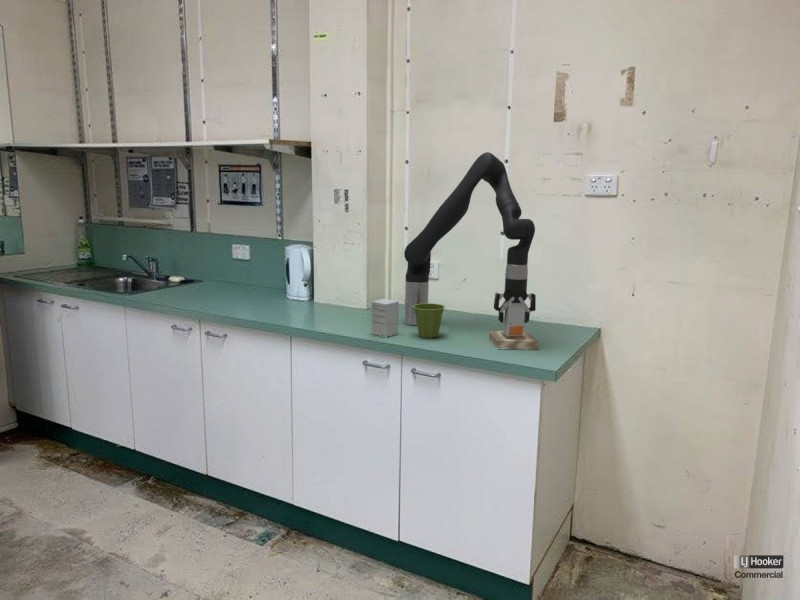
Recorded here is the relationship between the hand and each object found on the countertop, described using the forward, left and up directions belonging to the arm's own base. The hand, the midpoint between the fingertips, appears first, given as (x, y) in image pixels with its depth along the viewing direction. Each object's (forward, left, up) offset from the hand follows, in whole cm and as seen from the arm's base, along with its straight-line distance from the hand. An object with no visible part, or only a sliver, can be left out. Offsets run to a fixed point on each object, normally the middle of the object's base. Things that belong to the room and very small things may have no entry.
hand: (513, 322), depth 204 cm
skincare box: (0, 0, -5) cm, 5 cm away
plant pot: (-29, +11, -8) cm, 32 cm away
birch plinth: (0, 0, -8) cm, 8 cm away
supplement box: (-45, +13, -8) cm, 48 cm away
